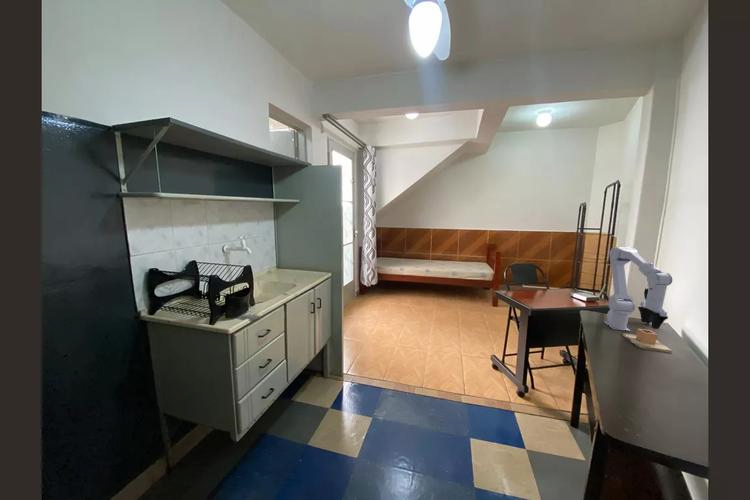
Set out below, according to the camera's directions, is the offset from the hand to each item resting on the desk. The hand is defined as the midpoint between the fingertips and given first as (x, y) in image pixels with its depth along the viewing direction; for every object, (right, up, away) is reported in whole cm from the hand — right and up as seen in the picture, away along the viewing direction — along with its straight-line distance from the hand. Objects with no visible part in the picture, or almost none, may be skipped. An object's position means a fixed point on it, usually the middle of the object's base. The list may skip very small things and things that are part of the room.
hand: (649, 325), depth 132 cm
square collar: (-1, -8, +1) cm, 8 cm away
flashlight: (+24, -7, +25) cm, 36 cm away
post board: (0, -9, +1) cm, 9 cm away
